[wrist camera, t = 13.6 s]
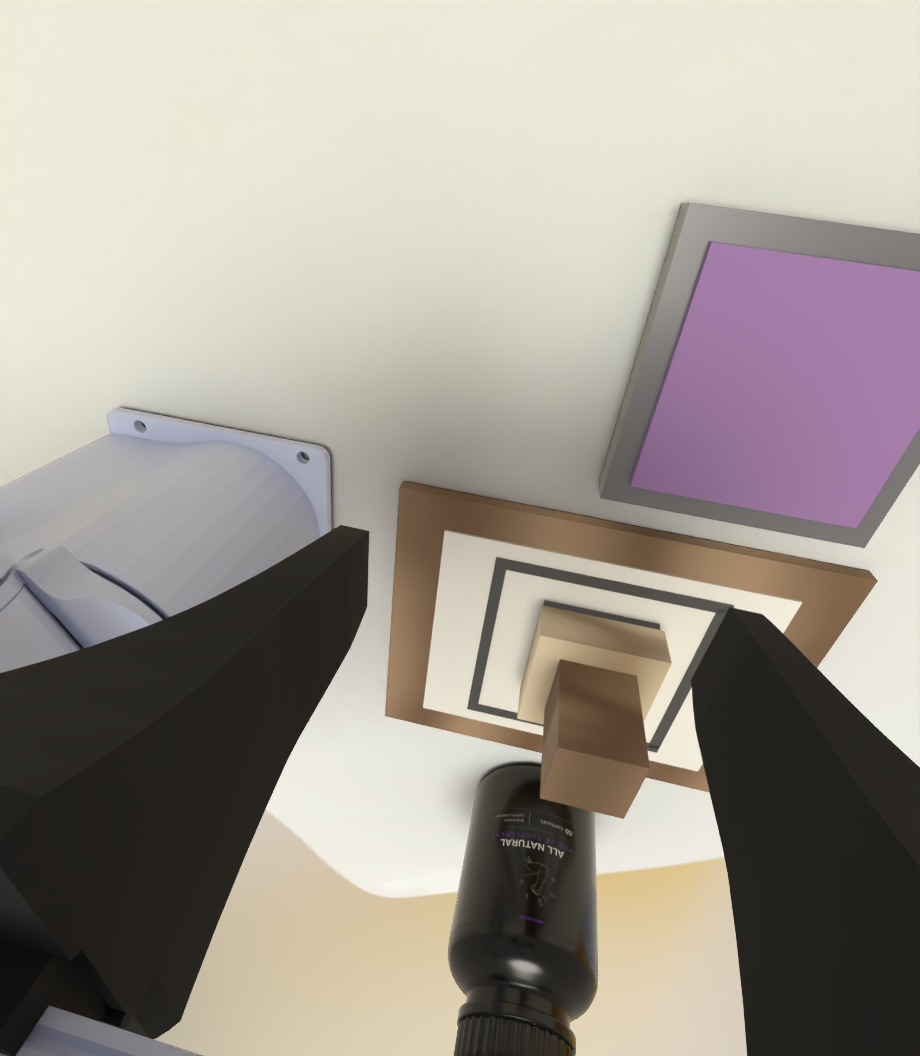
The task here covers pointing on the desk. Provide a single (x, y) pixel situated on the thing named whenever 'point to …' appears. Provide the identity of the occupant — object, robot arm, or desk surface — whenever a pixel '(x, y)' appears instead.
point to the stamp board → (582, 581)
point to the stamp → (592, 703)
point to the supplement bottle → (524, 920)
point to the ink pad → (775, 376)
